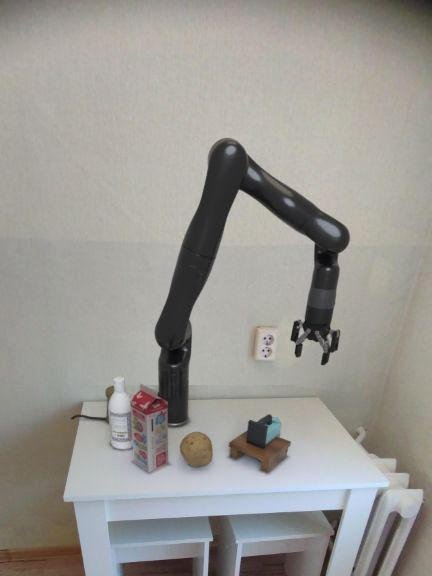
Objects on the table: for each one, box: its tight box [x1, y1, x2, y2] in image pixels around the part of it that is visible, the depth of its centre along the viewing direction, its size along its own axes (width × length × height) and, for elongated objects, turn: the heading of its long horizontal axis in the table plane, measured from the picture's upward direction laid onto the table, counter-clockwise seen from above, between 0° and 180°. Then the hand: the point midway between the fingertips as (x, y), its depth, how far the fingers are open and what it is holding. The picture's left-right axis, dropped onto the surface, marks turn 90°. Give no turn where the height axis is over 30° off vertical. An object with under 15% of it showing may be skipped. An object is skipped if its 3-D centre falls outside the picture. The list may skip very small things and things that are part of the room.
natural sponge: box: [179, 431, 214, 468], centre depth 124 cm, size 9×9×10 cm
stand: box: [228, 430, 291, 474], centre depth 131 cm, size 12×13×5 cm
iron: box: [246, 414, 282, 449], centre depth 129 cm, size 12×6×7 cm, turn 144°
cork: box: [104, 385, 114, 425], centre depth 143 cm, size 6×6×11 cm
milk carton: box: [130, 383, 169, 473], centre depth 120 cm, size 7×7×22 cm
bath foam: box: [108, 376, 133, 450], centre depth 128 cm, size 7×7×20 cm
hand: (310, 360), depth 137 cm, fingers open, 8 cm apart
